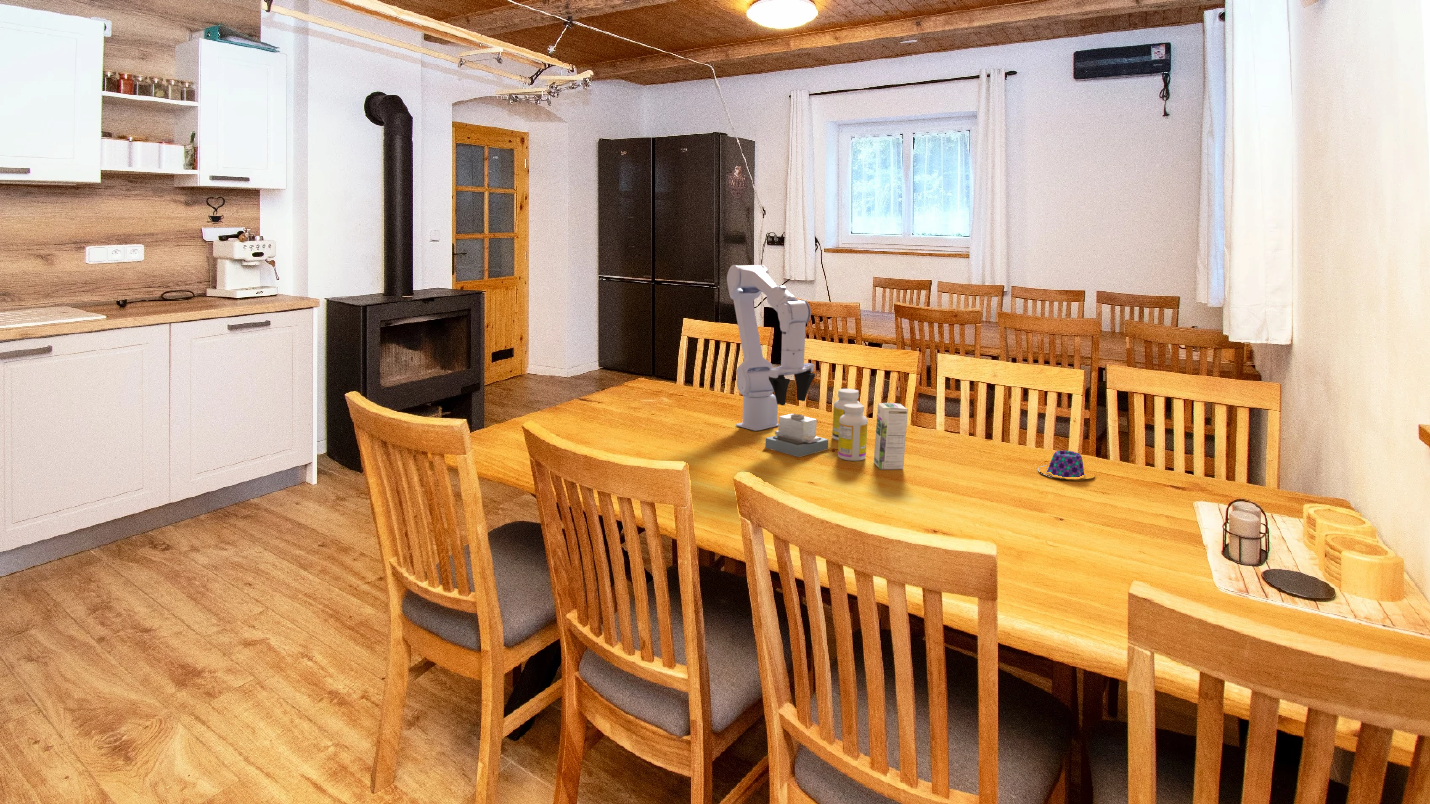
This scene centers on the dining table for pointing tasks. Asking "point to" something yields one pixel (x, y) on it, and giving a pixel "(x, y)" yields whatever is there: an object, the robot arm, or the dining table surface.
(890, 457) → the syrup box
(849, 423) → the supplement bottle
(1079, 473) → the polka-dot brimmed hat
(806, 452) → the stand
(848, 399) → the supplement bottle
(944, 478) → the dining table surface
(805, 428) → the housing
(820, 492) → the dining table surface
